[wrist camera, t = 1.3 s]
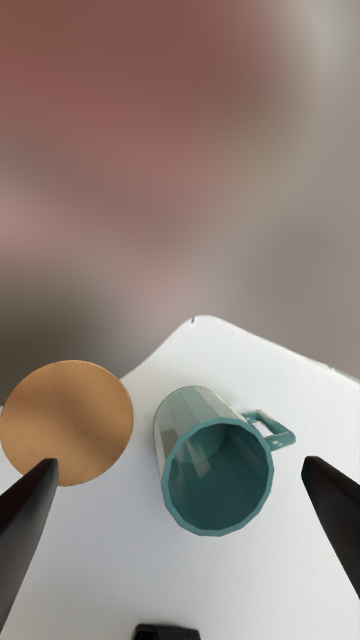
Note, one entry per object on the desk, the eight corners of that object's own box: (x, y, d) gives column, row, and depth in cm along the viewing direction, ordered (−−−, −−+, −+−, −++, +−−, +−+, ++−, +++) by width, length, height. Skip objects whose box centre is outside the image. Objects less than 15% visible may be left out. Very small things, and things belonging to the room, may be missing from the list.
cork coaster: (110, 494, 22) (109, 498, 21) (-18, 468, 20) (-22, 471, 19) (148, 379, 22) (148, 380, 22) (29, 344, 20) (26, 344, 20)
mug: (161, 473, 22) (175, 554, 15) (146, 396, 22) (151, 436, 14) (260, 441, 24) (319, 498, 16) (246, 370, 24) (299, 394, 16)
